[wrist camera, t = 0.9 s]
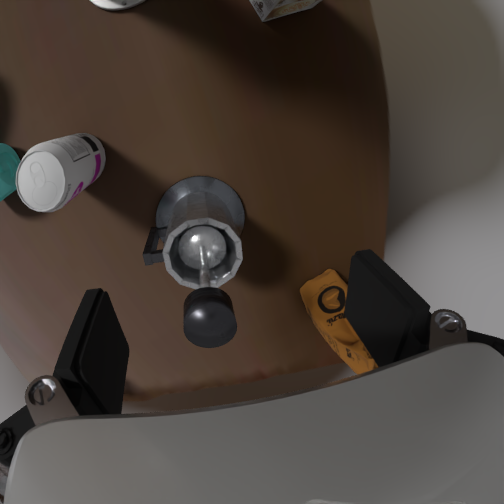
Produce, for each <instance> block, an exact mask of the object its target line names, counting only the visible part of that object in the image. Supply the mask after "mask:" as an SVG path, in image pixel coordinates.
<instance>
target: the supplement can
mask: <svg viewBox="0 0 504 504" xmlns="http://www.w3.org/2000/svg"><path fill="white" fill-rule="evenodd" d="M105 160H106V157H105V150H104V148H103V146H102V144H101V142H100V141H99V140H98V139H97V138H96V137H95V136H93V135H90V134H87V133H79V134H74V135H70V136H66V137H62V138H58V139H54V140H50V141H46V142H43V143H39V144H37V145H36V146H34V147H32V148H30V149H29V150H28V152H27V153H26V154H25V155H24V157H23V158H22V161H21V162H20V164H19V166H18V169H17V172H16V187H17V192H18V194H19V196H20V198H21V200H22V202H23V203H24V204H25V205H27V206H28V207H29V208H30V209H33V210H35V211H41V212H54V211H56V210H58V209H60V208H62V207H63V206H64V205H66V204H67V203H68V202H69V201H70V200H72V199H73V198H74V197H75V196H76V195H78V194H79V193H80V192H81V191H83V190H84V189H85V188H87V187H88V186H89V185H90V184H92V183H93V182H94V181H95V180H96V179H97V178H98V177H99V176H100V175H101V173H102V171H103V169H104V166H105Z"/></svg>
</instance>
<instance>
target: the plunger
mask: <svg viewBox="0 0 504 504" xmlns="http://www.w3.org/2000/svg"><path fill="white" fill-rule="evenodd" d="M225 253H226V242H225V239H224V237H223V235H222V234H221V232H220V231H219V230H217V229H216V228H214V227H212V226H209V225H196V226H193V227H191V228H189V229H188V230H186V231H185V232H184V233H183V235H182V236H181V238H180V241H179V254H180V257H181V259H182V260H183V262H184V263H185V264H187V265H188V266H190V267H192V268H194V269H199V270H200V282H201V288H199V289H196V290H194V291H193V292H191V293H190V294H189V295H188V296H187V298H186V299H185V302H184V333H185V336H186V337H187V339H188V340H189V341H190V342H192V343H193V344H195V345H197V346H200V347H204V348H214V347H219V346H222V345H224V344H226V343H228V342H229V341H230V340H231V339H232V338H233V337H234V335H235V333H236V331H237V323H236V319H235V314H234V310H233V305H232V301H231V299H230V297H229V296H228V294H227V293H226V292H224V291H223V290H221V289H218V288H215V287H211V283H210V275H209V269H210V268H212V267H214V266H216V265H217V264H219V263H220V262H221V261H222V259H223V258H224V256H225Z"/></svg>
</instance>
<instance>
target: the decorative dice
mask: <svg viewBox="0 0 504 504" xmlns="http://www.w3.org/2000/svg"><path fill="white" fill-rule="evenodd" d="M20 162H21V161H20V159H19V157H18V155H17V153H16V152H15V151H14V150H13V149H12V148H11V147H10V146H9V145H7V144H4V143H0V201H2V200H3V199H4V198H6V197H7V196H8V195H10V194H11V193H12V192H14V191H15V190H16V189H17V187H16V172H17V169H18V166H19V164H20Z"/></svg>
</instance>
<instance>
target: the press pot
mask: <svg viewBox="0 0 504 504" xmlns="http://www.w3.org/2000/svg"><path fill="white" fill-rule="evenodd" d="M196 225H209V226H212V227H214V228H216V229H217V230H219V231H220V232H221V234H222V235H223V237H224V239H225V242H226V253H225V256H224V258H223V259H222V261H221V262H220V263H219V264H217V265H216V266H214V267H212V268H210V269H209V275H210V283H211V287H215V288H217V287H219V286H221V285H222V284H224V283H225V282H227V281H228V280H230V279H231V278H232V277H234V276H235V274H236V272H237V270H238V268H239V266H240V264H241V262H242V260H243V257H242V246H241V240H240V235H241V233H242V230H243V227H244V209H243V205H242V203H241V201H240V198H239V197H238V195H237V194H236V192H235V191H234V190H233V189H232V188H231V187H230V186H229V185H228V184H226V183H224V182H223V181H221V180H219V179H216V178H213V177H208V176H193V177H189V178H186V179H183V180H181V181H179V182H177V183H176V184H174V185H173V186H171V187H170V188H169V189H168V190H167V191H166V193H165V194H164V195H163V197H162V198H161V200H160V203H159V205H158V208H157V213H156V226H157V227H151V230H150V233H149V236H148V239H147V242H146V245H145V248H144V251H143V258H144V262H145V266H146V265H153V263H157V262H163V261H165V265H166V270H167V271H168V273H169V274H170V275H171V276H172V277H173V278H174V279H175V280H176V281H177V282H178V283H179V284H181V285H184V286H187V287H190V288H193V289H199V288H201V282H200V270H199V269H194V268H192V267H190V266H188V265H187V264H185V263H184V262H183V260H182V259H181V257H180V254H179V241H180V238H181V236H182V235H183V233H184V232H185V231H186V230H188V229H189V228H191V227H193V226H196ZM159 237H160V238H161V240H162V241H163V243H164V247H163V249H162V250H156V249H157V245H158V240H159Z"/></svg>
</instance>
